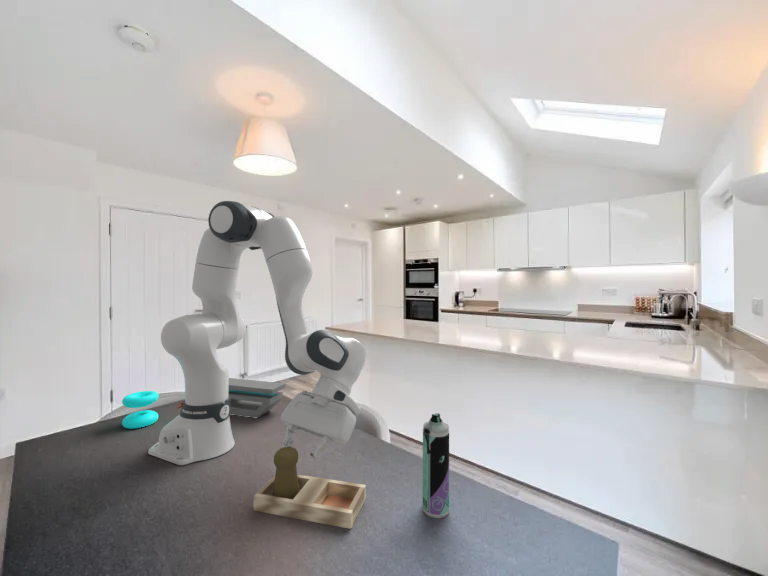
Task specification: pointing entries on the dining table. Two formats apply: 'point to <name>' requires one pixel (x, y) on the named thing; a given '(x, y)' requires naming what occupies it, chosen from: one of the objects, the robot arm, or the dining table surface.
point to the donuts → (140, 417)
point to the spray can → (436, 467)
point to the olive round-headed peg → (286, 473)
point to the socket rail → (315, 501)
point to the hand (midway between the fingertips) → (299, 451)
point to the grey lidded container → (253, 396)
